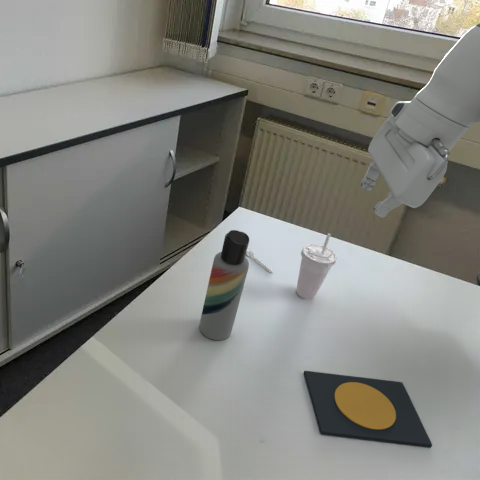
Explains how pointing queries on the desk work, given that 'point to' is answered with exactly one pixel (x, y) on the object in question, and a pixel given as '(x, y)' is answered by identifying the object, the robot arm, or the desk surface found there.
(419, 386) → the desk surface
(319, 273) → the smoothie
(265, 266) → the white spoon
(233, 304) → the lotion bottle
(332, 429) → the mat
